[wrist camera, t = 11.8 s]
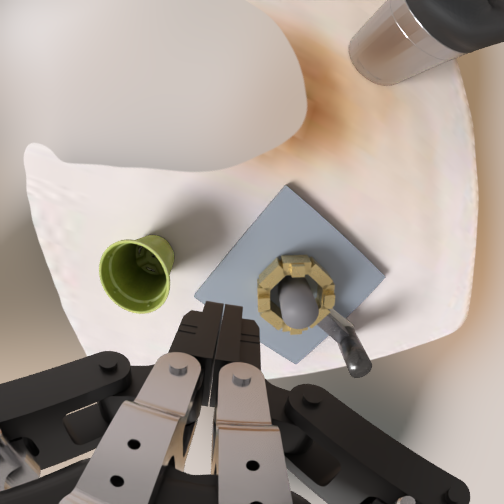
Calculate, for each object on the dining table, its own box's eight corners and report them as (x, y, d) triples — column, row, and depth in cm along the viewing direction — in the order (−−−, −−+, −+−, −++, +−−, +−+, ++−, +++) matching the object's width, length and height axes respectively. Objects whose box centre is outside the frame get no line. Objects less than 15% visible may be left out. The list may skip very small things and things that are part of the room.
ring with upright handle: (242, 290, 39) (239, 323, 31) (294, 239, 37) (305, 262, 29) (327, 358, 43) (339, 394, 35) (374, 319, 40) (395, 350, 32)
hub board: (285, 184, 36) (293, 191, 28) (389, 281, 40) (413, 305, 32) (195, 293, 41) (183, 322, 33) (303, 365, 45) (310, 399, 37)
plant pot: (193, 234, 38) (177, 255, 30) (178, 293, 41) (161, 324, 33) (132, 214, 37) (103, 229, 29) (122, 273, 40) (96, 298, 32)
